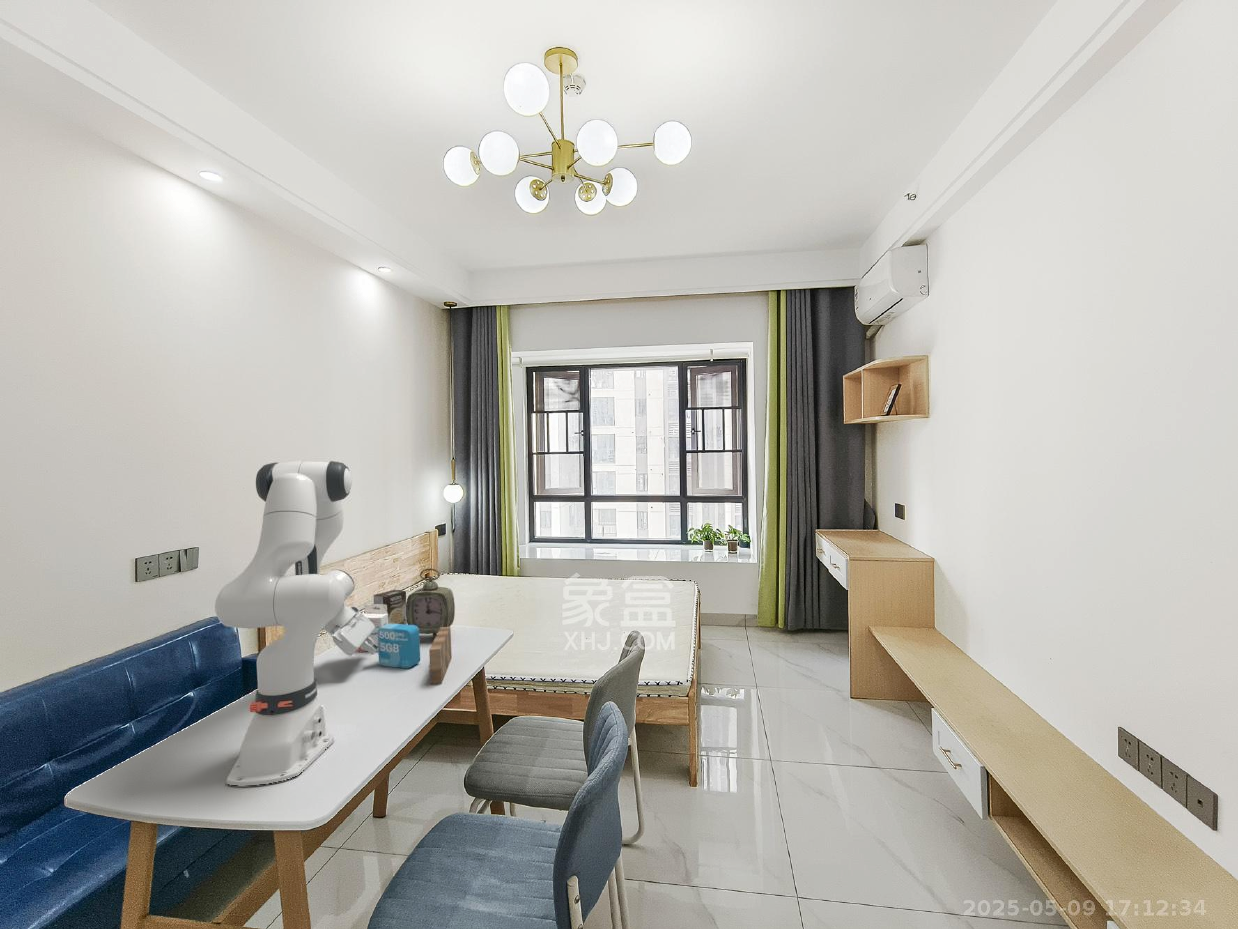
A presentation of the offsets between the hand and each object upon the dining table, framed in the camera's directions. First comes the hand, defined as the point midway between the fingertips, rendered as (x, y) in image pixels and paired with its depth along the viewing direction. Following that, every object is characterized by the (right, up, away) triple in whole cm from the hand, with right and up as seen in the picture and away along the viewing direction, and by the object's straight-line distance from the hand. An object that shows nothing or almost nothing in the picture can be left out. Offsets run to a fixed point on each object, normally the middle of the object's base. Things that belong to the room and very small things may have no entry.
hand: (375, 651), depth 178 cm
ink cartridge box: (-7, -5, +15) cm, 17 cm away
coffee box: (-6, -4, +27) cm, 27 cm away
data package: (+7, -5, +1) cm, 9 cm away
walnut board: (+22, -4, -4) cm, 22 cm away
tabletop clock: (+10, -4, +24) cm, 26 cm away
